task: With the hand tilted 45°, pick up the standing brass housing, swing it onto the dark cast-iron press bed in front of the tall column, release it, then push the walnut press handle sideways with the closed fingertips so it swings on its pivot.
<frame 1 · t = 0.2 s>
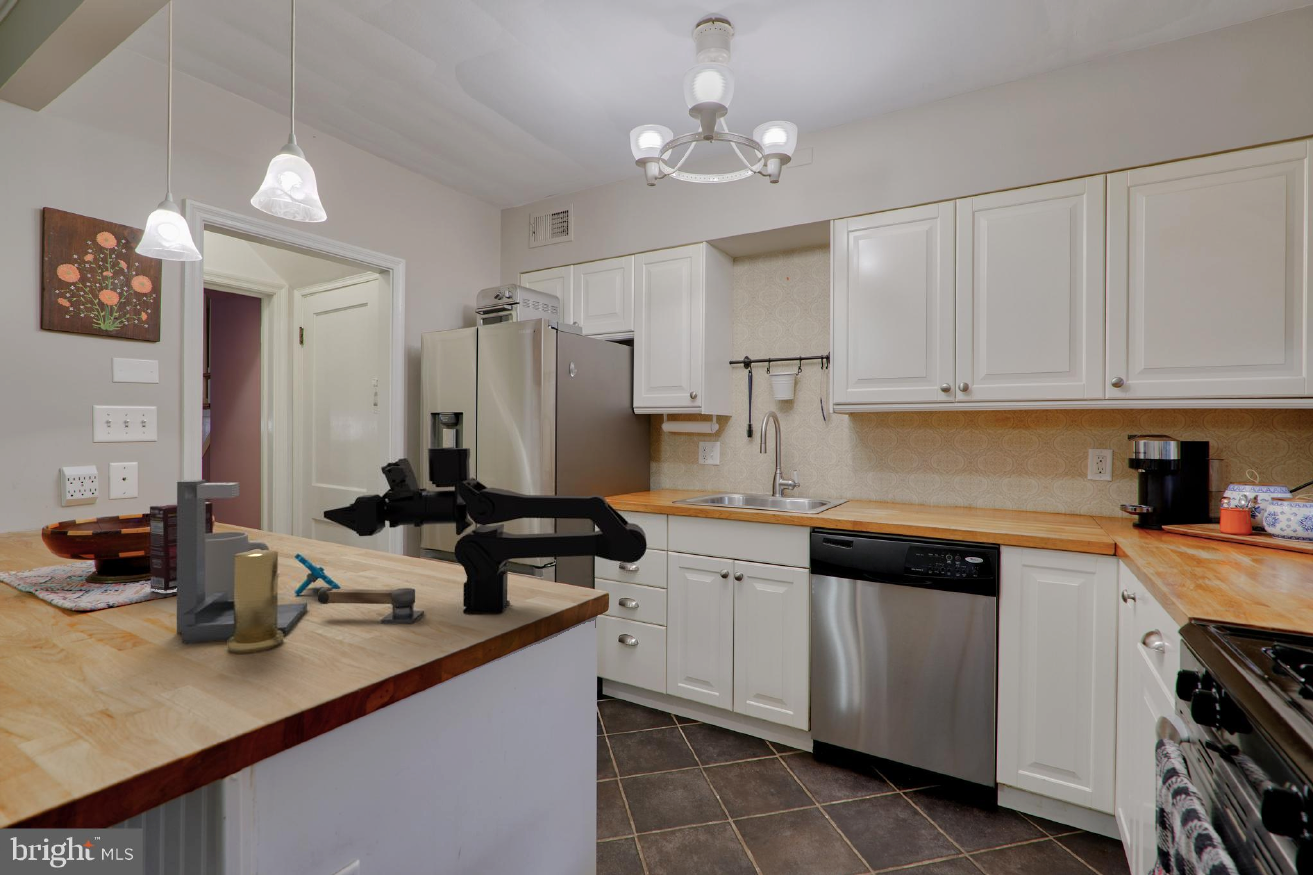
hand: (337, 510, 105), 17 cm above the counter, tool horizontal, fingers open, 9 cm apart
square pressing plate: (403, 618, 101), on the counter
press bed: (268, 623, 97), on the counter
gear: (317, 593, 116), on the counter
supplement box: (181, 589, 117), on the counter
housing: (255, 645, 88), on the counter
mug: (231, 596, 113), on the counter
lever: (366, 596, 101), point 4 cm above the counter, hinge at 0.0°
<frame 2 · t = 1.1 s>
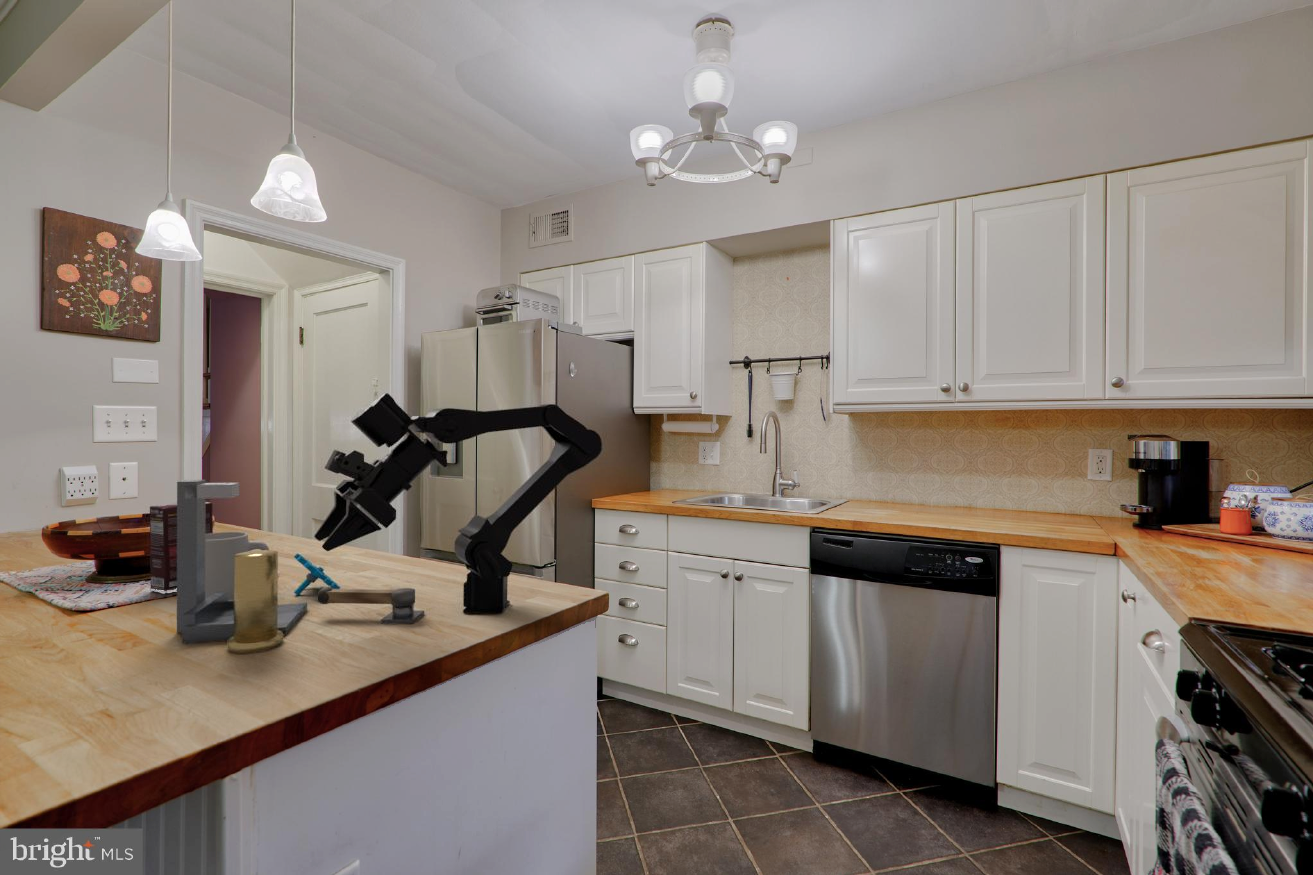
hand: (320, 543, 92), 14 cm above the counter, tool tilted 45°, fingers open, 9 cm apart
nothing on the counter moved.
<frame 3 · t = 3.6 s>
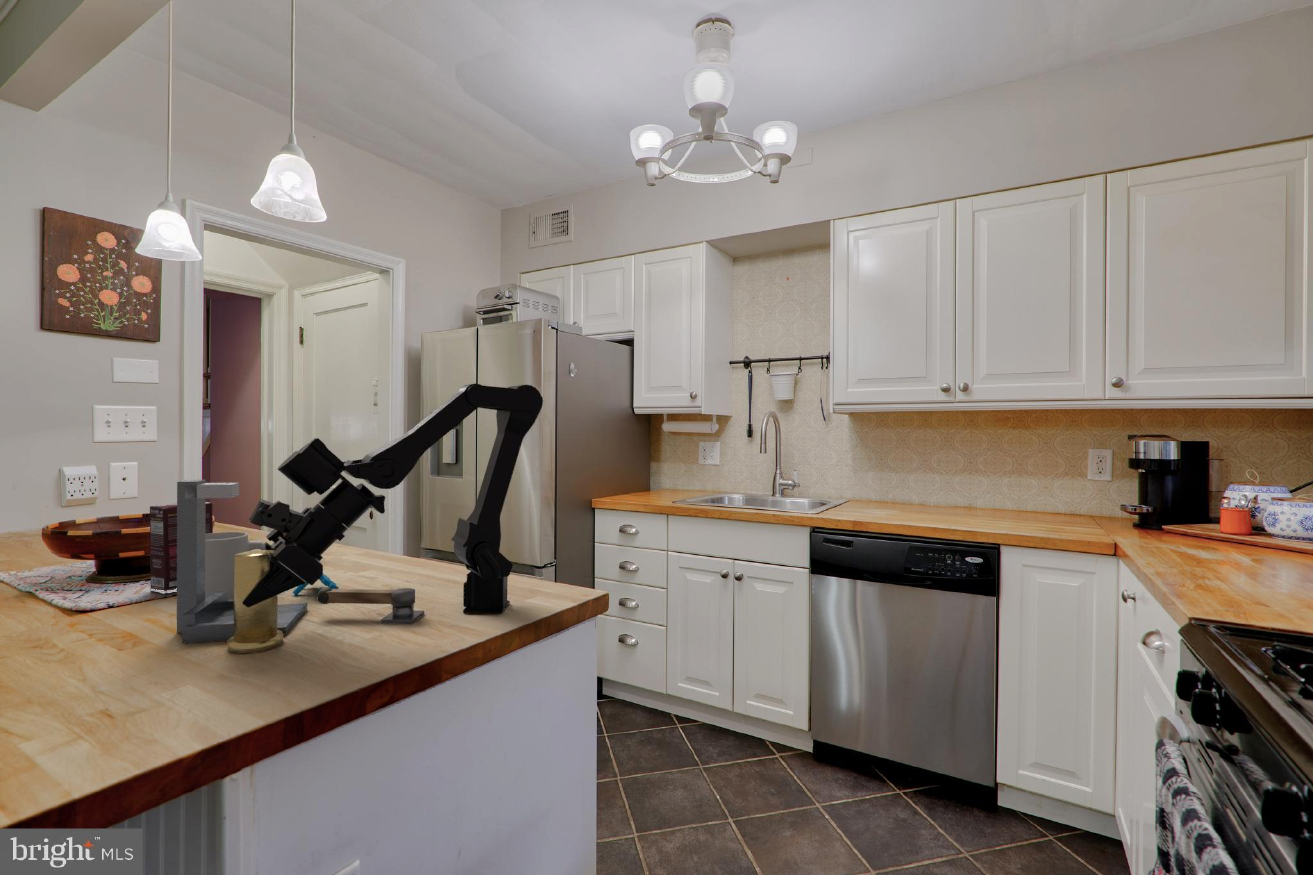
hand: (244, 600, 87), 7 cm above the counter, tool tilted 45°, fingers closed on housing, 5 cm apart
housing: (255, 645, 88), on the counter, touching gripper
everything else where it was.
when the fingers open (8 cm above the counter, at t = 6.2 s): housing stays where it is, resting on press bed.
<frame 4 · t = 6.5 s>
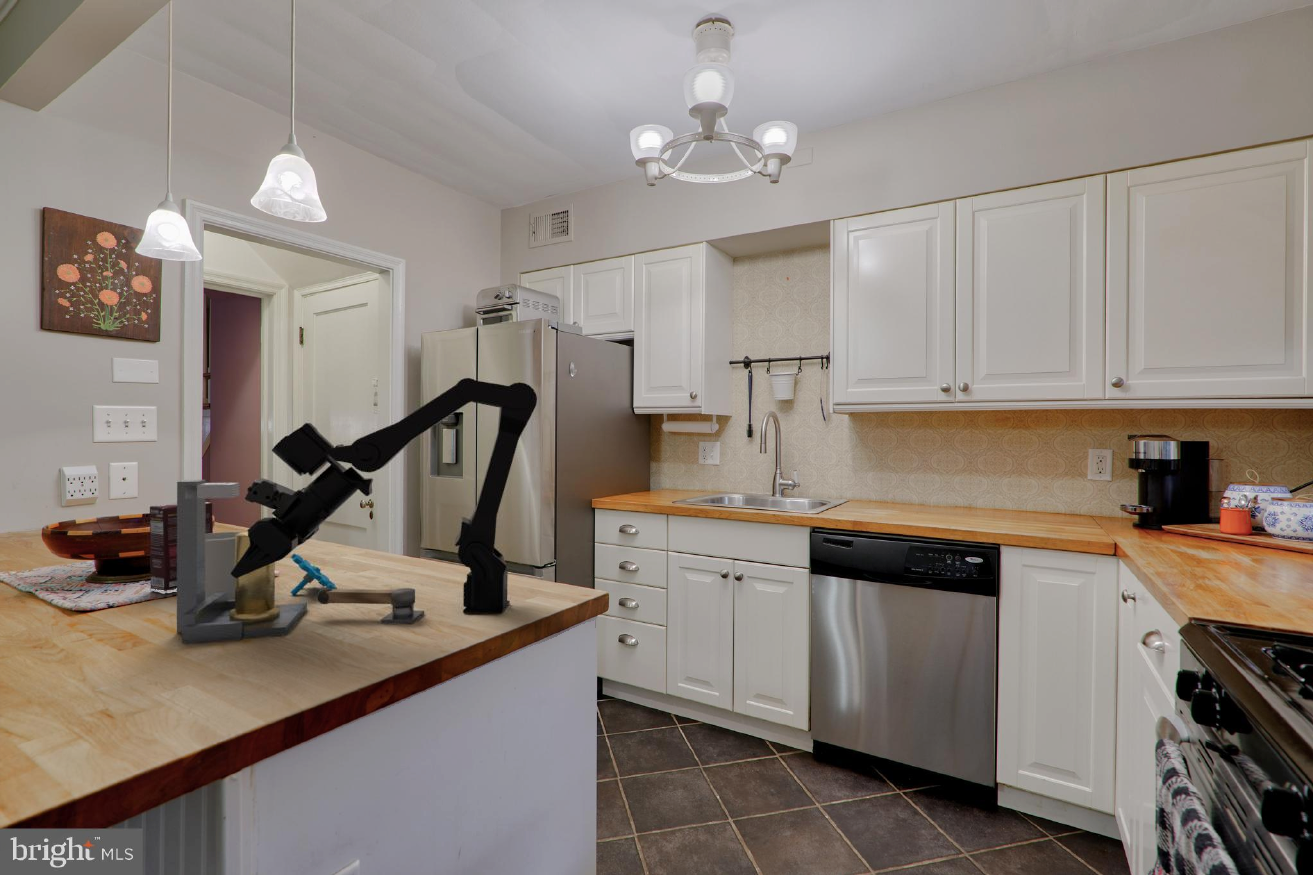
hand: (243, 569, 96), 9 cm above the counter, tool tilted 45°, fingers open, 9 cm apart
housing: (254, 616, 96), point 1 cm above the counter, touching press bed
everything else where it was.
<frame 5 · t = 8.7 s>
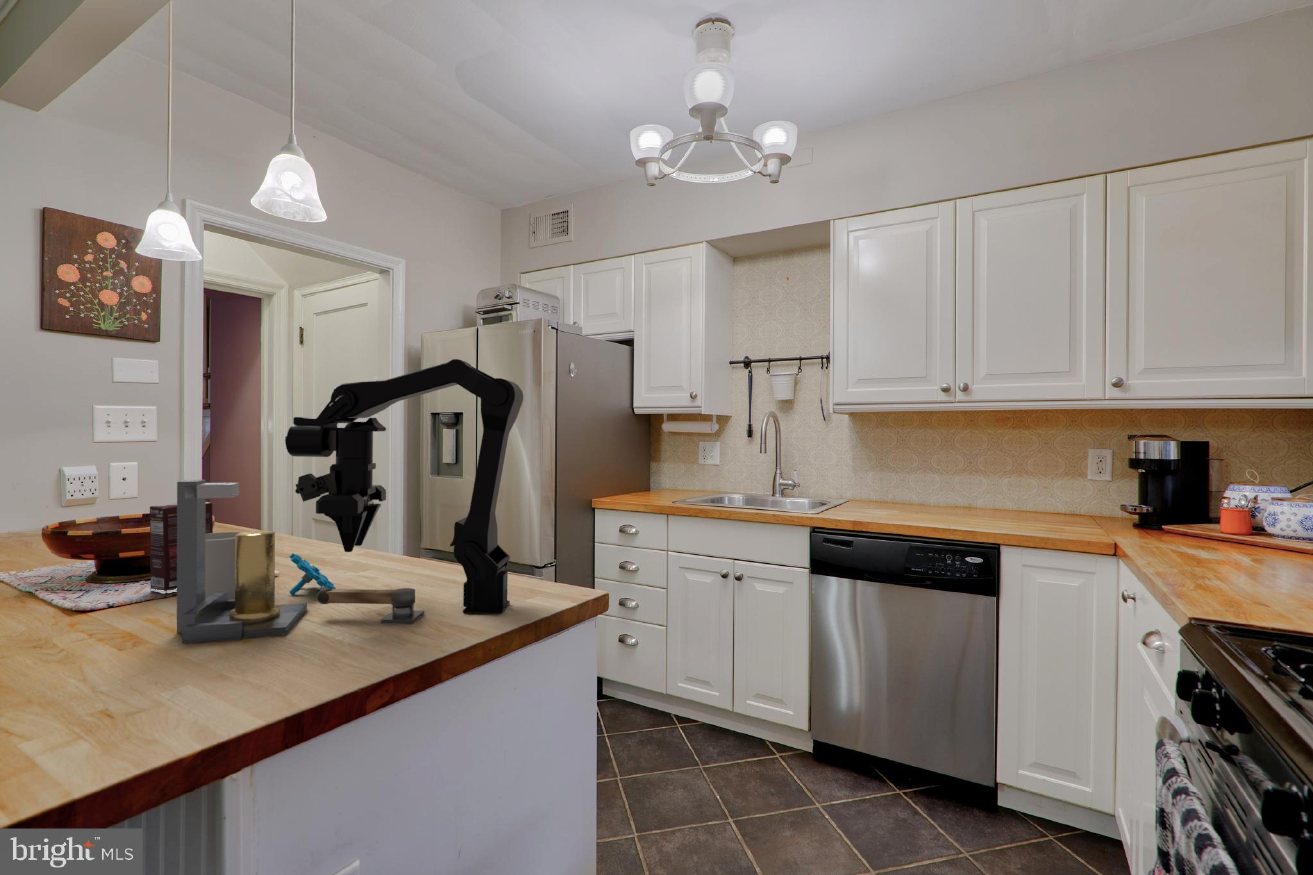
hand: (353, 548, 106), 10 cm above the counter, tool pointing down, fingers open, 5 cm apart
nothing on the counter moved.
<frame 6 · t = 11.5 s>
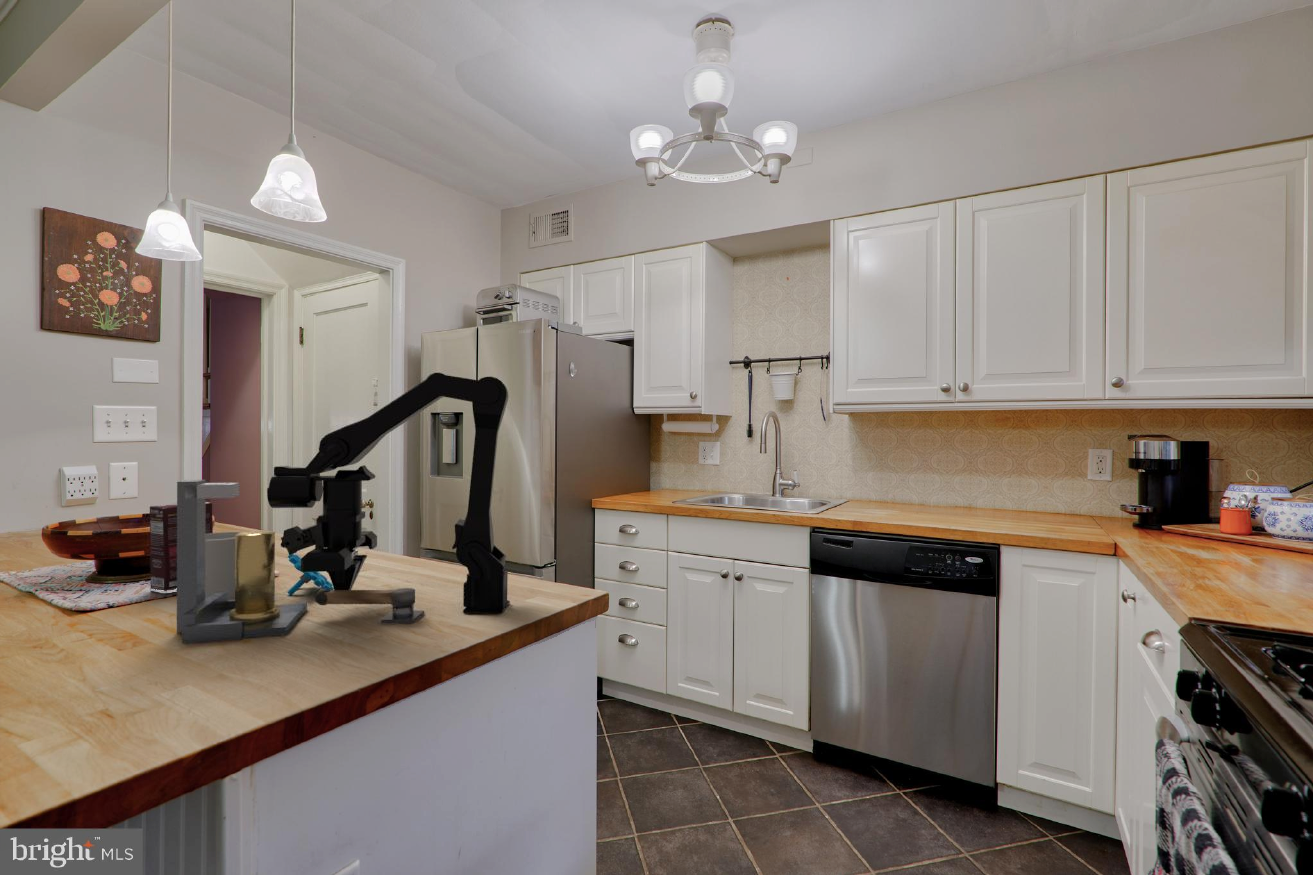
hand: (342, 601, 103), 2 cm above the counter, tool pointing down, fingers closed
lever: (365, 597, 100), point 3 cm above the counter, hinge at 2.9°, touching gripper
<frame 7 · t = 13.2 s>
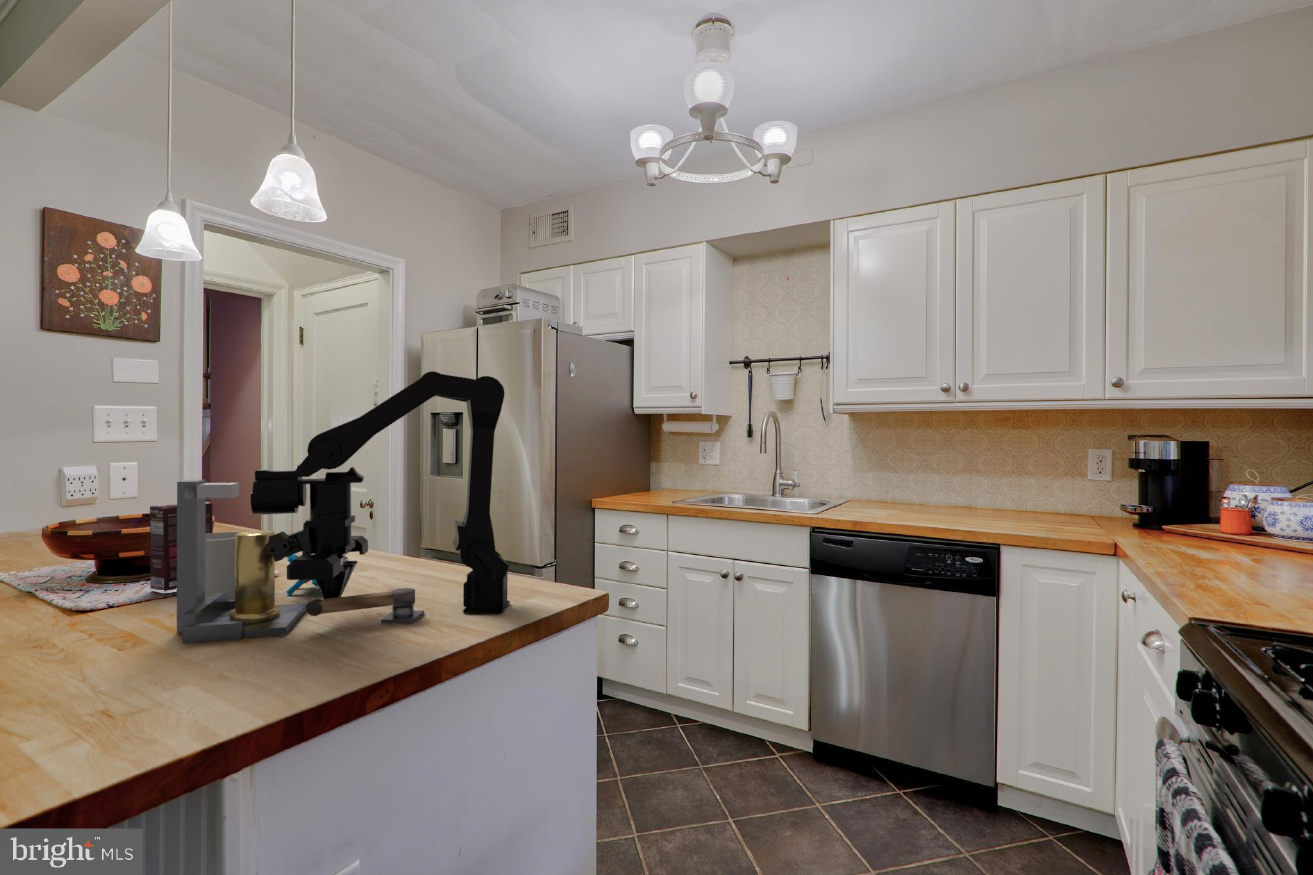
hand: (331, 610, 98), 2 cm above the counter, tool pointing down, fingers closed
lever: (362, 601, 98), point 3 cm above the counter, hinge at 29.4°, touching gripper
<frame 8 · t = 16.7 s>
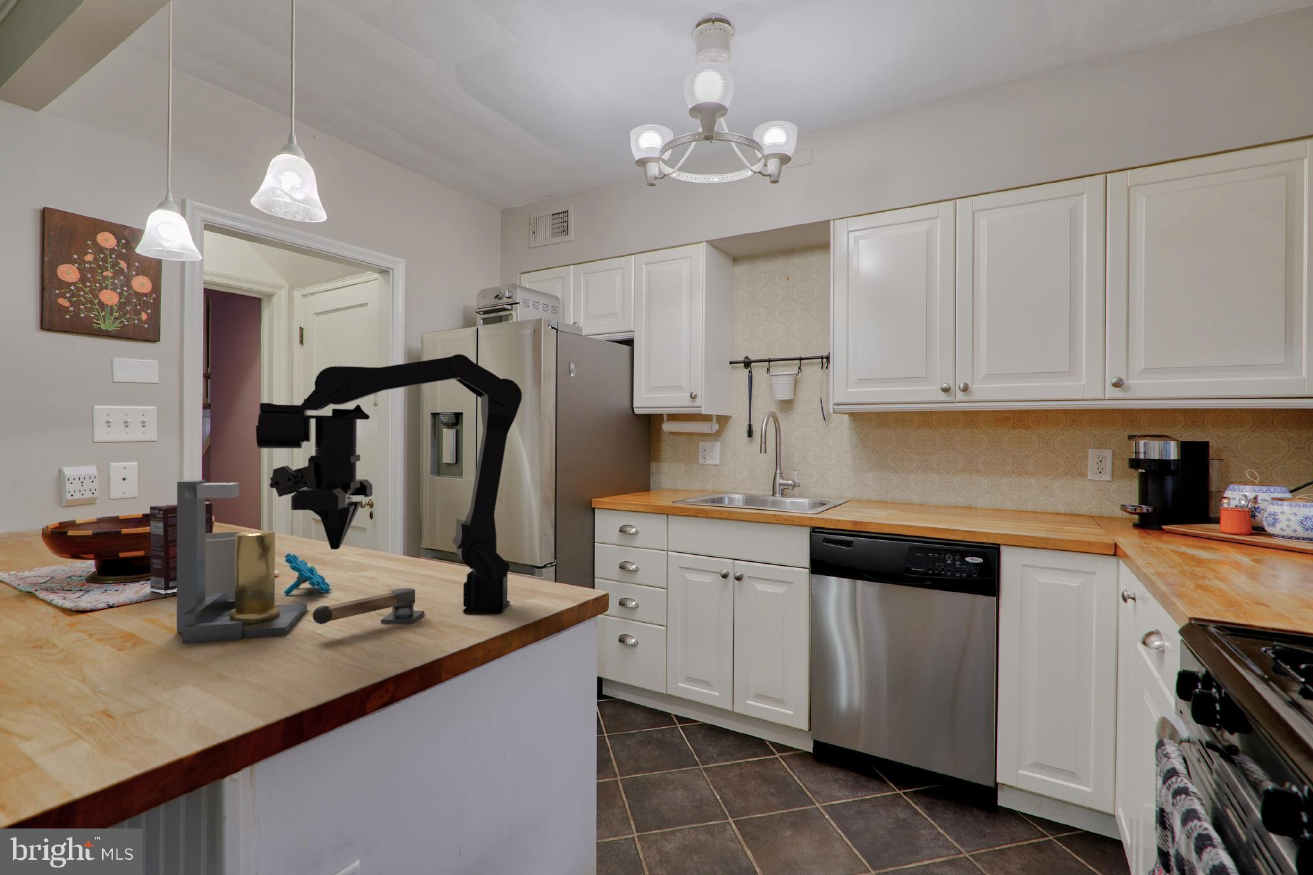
hand: (335, 548, 96), 12 cm above the counter, tool pointing down, fingers closed
lever: (366, 605, 96), point 4 cm above the counter, hinge at 51.4°
at the end: housing inside the target area on the press bed (0.3 cm from its centre), point 1.2 cm above the press bed's base; housing tilted 0°; lever at +51° (first picture: +0°) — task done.
